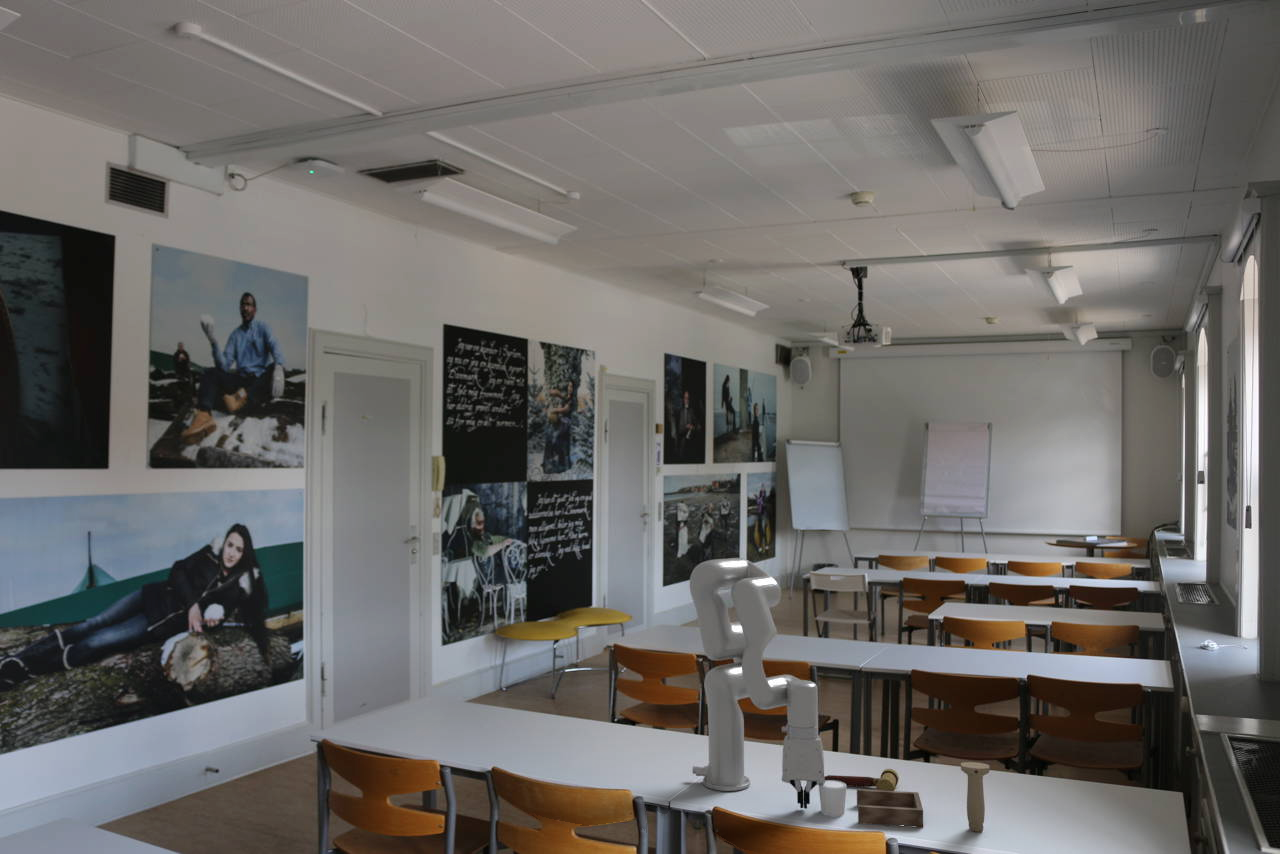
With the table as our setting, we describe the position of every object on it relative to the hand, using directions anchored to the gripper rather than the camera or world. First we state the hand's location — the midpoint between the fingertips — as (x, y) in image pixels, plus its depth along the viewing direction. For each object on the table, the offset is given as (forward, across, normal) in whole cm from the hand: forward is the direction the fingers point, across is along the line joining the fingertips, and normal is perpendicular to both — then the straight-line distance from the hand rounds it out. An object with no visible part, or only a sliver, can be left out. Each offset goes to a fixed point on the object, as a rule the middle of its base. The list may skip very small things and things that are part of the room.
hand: (803, 806), depth 247 cm
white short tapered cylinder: (+1, +7, 0) cm, 7 cm away
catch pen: (+1, +20, 0) cm, 20 cm away
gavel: (+2, +13, +22) cm, 25 cm away
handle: (+1, +40, -6) cm, 41 cm away
